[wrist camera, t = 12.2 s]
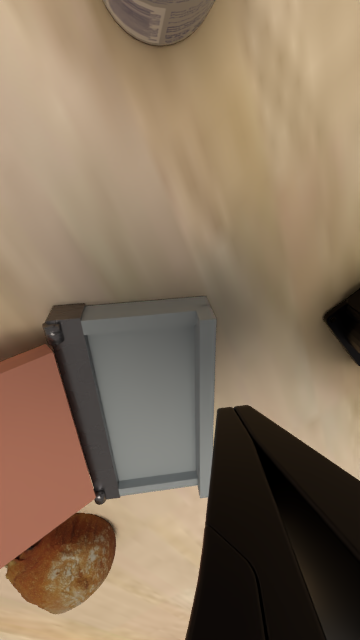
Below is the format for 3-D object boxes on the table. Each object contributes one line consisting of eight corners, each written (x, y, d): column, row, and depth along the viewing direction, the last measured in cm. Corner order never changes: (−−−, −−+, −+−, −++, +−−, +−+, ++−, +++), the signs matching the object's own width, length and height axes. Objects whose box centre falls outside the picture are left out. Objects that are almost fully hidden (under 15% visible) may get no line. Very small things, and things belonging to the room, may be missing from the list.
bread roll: (79, 528, 39) (97, 604, 34) (-13, 557, 32) (-6, 659, 27) (116, 484, 36) (143, 561, 31) (23, 505, 28) (38, 611, 23)
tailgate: (53, 352, 18) (-108, 418, 14) (95, 497, 26) (-1, 569, 21) (43, 341, 19) (-109, 401, 15) (87, 485, 27) (-7, 551, 22)
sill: (84, 303, 20) (78, 322, 18) (121, 476, 29) (120, 503, 27) (50, 306, 20) (39, 325, 18) (97, 479, 29) (94, 506, 27)
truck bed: (205, 295, 21) (216, 318, 18) (204, 464, 30) (211, 496, 27) (85, 305, 20) (77, 331, 17) (121, 475, 29) (119, 509, 26)
